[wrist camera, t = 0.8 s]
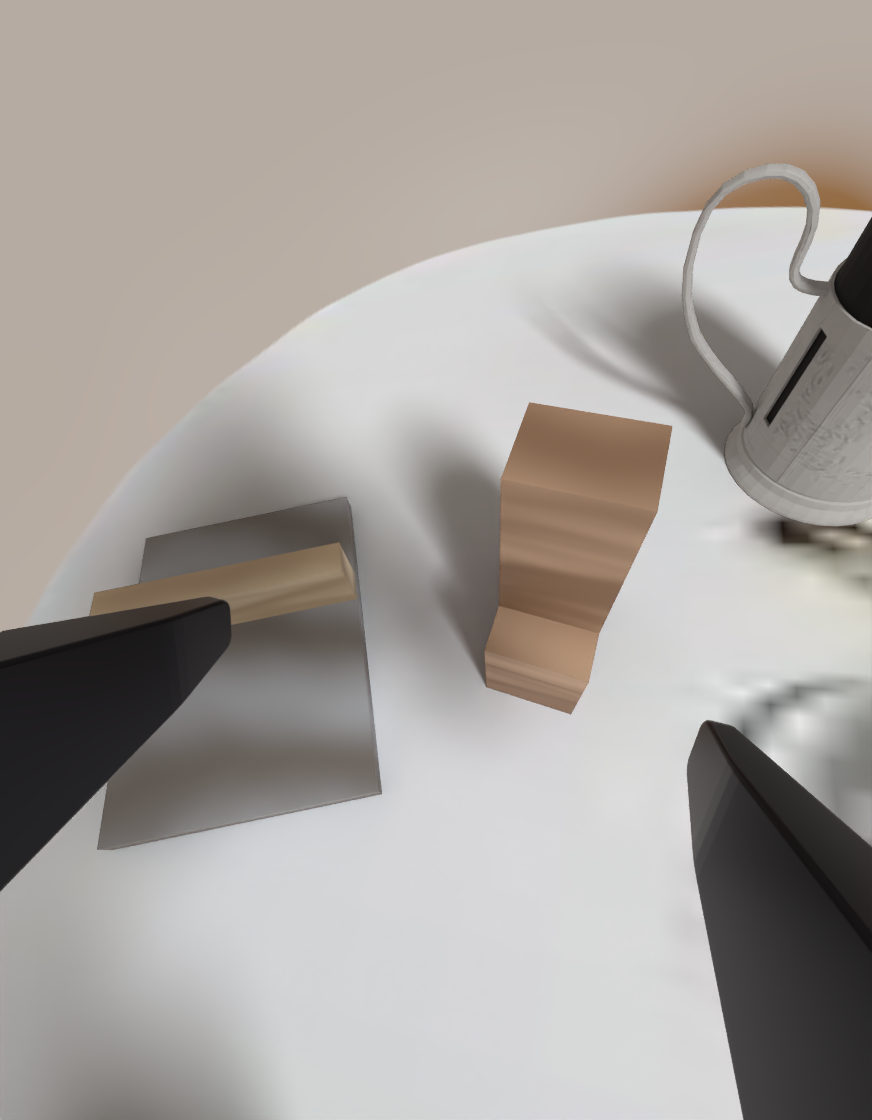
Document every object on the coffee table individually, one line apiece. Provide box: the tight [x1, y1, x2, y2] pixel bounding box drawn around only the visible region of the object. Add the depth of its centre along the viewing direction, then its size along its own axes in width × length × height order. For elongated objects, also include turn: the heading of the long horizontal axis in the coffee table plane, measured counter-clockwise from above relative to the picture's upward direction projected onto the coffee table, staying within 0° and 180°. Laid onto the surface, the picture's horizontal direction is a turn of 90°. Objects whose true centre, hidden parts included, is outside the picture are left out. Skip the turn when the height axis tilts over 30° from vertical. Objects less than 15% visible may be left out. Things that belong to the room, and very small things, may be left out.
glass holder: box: [682, 164, 872, 526], centre depth 22 cm, size 9×14×15 cm, turn 67°
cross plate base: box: [90, 497, 382, 850], centre depth 24 cm, size 16×12×4 cm
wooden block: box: [484, 402, 672, 714], centre depth 19 cm, size 7×4×13 cm, turn 160°
